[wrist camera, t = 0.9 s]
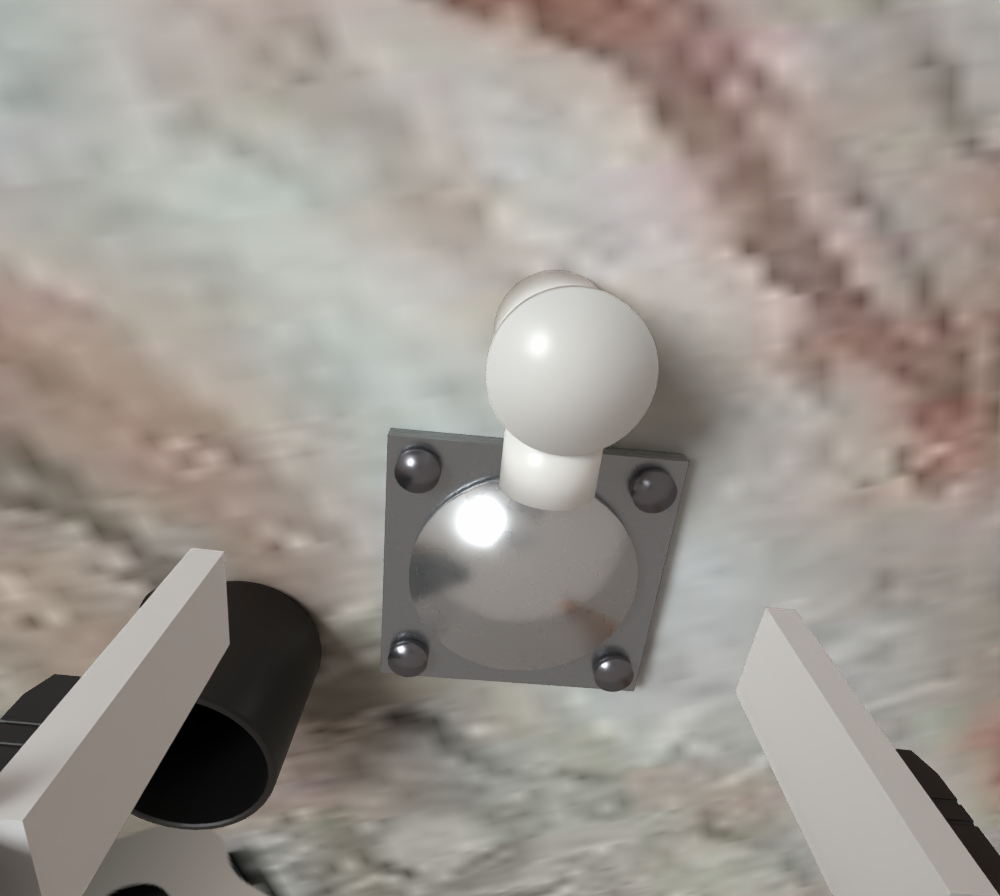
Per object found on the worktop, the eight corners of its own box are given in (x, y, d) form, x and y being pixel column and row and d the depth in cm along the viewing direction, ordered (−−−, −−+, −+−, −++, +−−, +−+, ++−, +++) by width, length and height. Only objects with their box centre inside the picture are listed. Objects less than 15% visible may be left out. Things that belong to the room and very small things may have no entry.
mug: (265, 524, 35) (193, 629, 27) (346, 679, 39) (306, 809, 31) (119, 565, 36) (6, 678, 28) (214, 711, 41) (141, 846, 32)
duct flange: (390, 428, 33) (385, 439, 31) (683, 454, 33) (692, 467, 32) (383, 661, 39) (378, 681, 37) (630, 679, 40) (636, 699, 38)
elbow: (494, 256, 29) (494, 279, 22) (629, 270, 30) (674, 297, 22) (478, 435, 33) (473, 507, 25) (599, 446, 33) (628, 520, 26)
